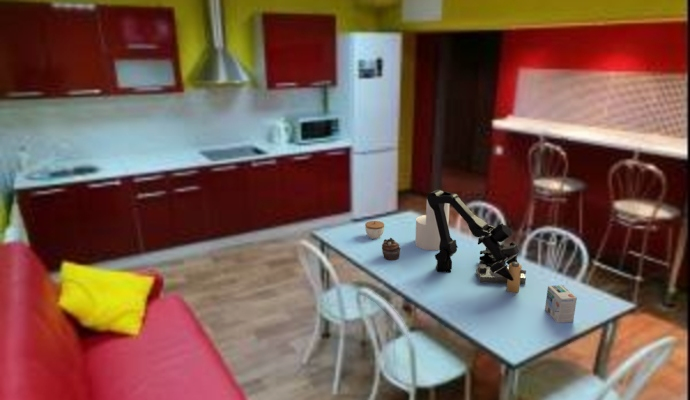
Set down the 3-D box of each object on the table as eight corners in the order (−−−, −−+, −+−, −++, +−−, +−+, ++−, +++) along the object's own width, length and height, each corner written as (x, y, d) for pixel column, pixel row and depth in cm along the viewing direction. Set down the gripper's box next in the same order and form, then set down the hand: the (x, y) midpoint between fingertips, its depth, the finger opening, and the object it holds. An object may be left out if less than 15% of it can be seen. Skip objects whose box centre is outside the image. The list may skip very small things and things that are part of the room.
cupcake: (391, 263, 239) (391, 244, 236) (377, 257, 246) (378, 239, 243) (404, 257, 245) (405, 239, 242) (390, 251, 252) (391, 234, 248)
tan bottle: (504, 290, 210) (507, 263, 206) (509, 286, 214) (511, 259, 210) (521, 295, 206) (524, 268, 202) (525, 290, 210) (528, 263, 206)
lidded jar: (384, 240, 266) (384, 224, 263) (365, 240, 266) (365, 224, 264) (383, 233, 276) (383, 217, 273) (365, 233, 277) (364, 218, 274)
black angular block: (503, 266, 233) (504, 254, 231) (492, 269, 230) (493, 256, 228) (489, 258, 241) (490, 246, 239) (478, 261, 238) (479, 249, 236)
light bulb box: (544, 308, 195) (547, 285, 192) (560, 307, 196) (563, 284, 193) (557, 323, 185) (560, 298, 182) (574, 322, 186) (577, 297, 182)
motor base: (480, 282, 217) (480, 273, 216) (476, 272, 227) (476, 263, 225) (525, 283, 216) (526, 273, 214) (519, 273, 225) (520, 264, 224)
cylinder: (452, 241, 263) (454, 193, 254) (440, 252, 249) (442, 202, 240) (423, 235, 272) (424, 188, 263) (410, 246, 258) (411, 196, 249)
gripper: (499, 245, 199) (523, 276, 196) (515, 231, 213) (538, 260, 210) (480, 257, 206) (503, 287, 203) (496, 243, 220) (518, 271, 217)
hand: (516, 276), depth 208 cm, fingers open, 9 cm apart
